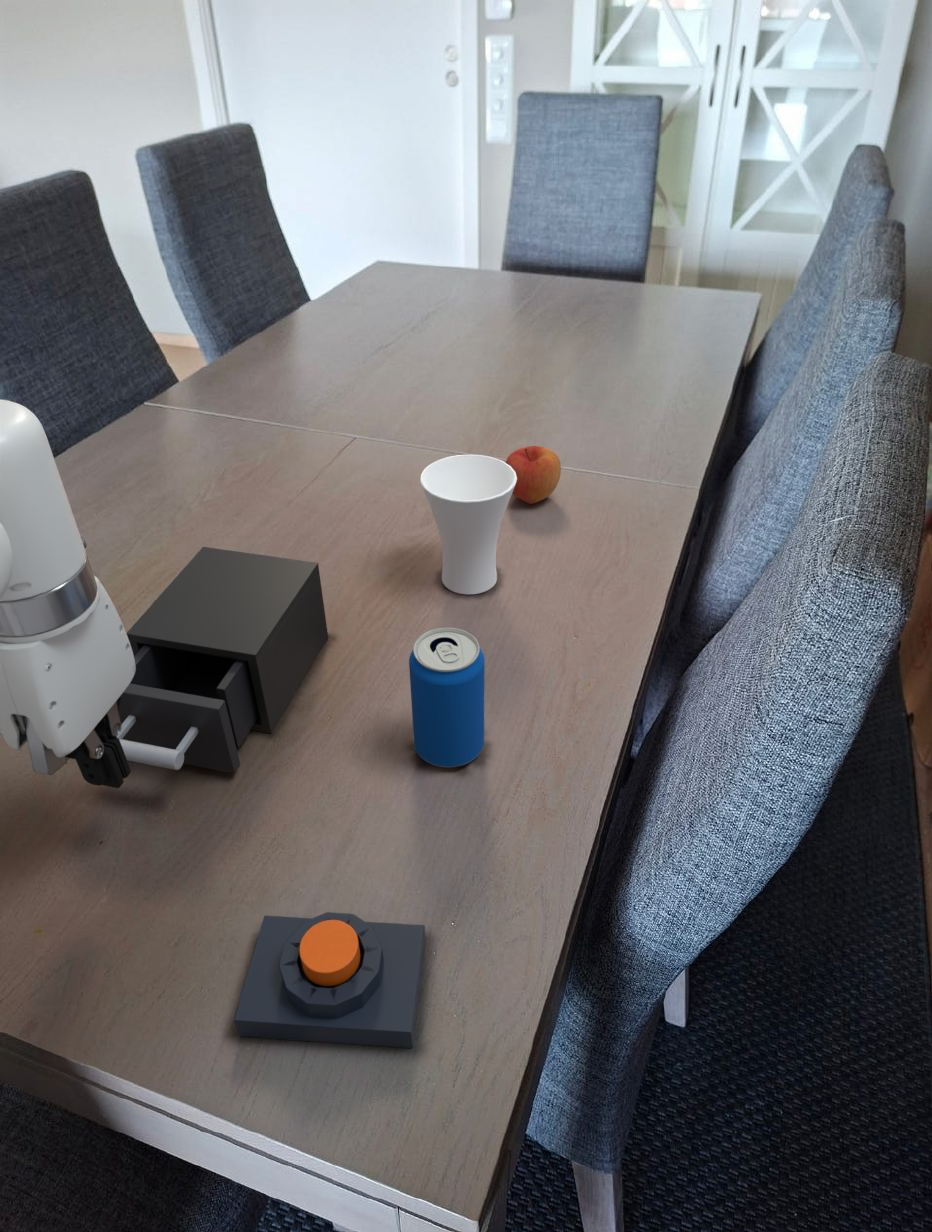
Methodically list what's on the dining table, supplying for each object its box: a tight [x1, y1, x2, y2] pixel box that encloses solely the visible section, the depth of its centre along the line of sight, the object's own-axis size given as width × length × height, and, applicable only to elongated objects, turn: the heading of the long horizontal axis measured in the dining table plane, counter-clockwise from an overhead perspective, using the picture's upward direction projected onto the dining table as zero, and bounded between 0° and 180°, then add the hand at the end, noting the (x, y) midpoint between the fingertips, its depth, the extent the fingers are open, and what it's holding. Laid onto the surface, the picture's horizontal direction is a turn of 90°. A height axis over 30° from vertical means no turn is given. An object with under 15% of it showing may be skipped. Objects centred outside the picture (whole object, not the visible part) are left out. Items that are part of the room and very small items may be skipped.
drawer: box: [117, 644, 259, 774], centre depth 80 cm, size 18×12×8 cm, turn 166°
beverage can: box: [408, 627, 486, 768], centre depth 78 cm, size 6×6×12 cm
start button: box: [299, 920, 360, 986], centre depth 60 cm, size 4×4×2 cm
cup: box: [419, 453, 517, 595], centre depth 98 cm, size 10×10×14 cm
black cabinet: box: [126, 546, 329, 734], centre depth 87 cm, size 15×13×10 cm
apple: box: [505, 445, 562, 505], centre depth 115 cm, size 7×7×8 cm
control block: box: [233, 911, 427, 1049], centre depth 62 cm, size 12×8×4 cm, turn 86°
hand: (108, 777), depth 69 cm, fingers closed
